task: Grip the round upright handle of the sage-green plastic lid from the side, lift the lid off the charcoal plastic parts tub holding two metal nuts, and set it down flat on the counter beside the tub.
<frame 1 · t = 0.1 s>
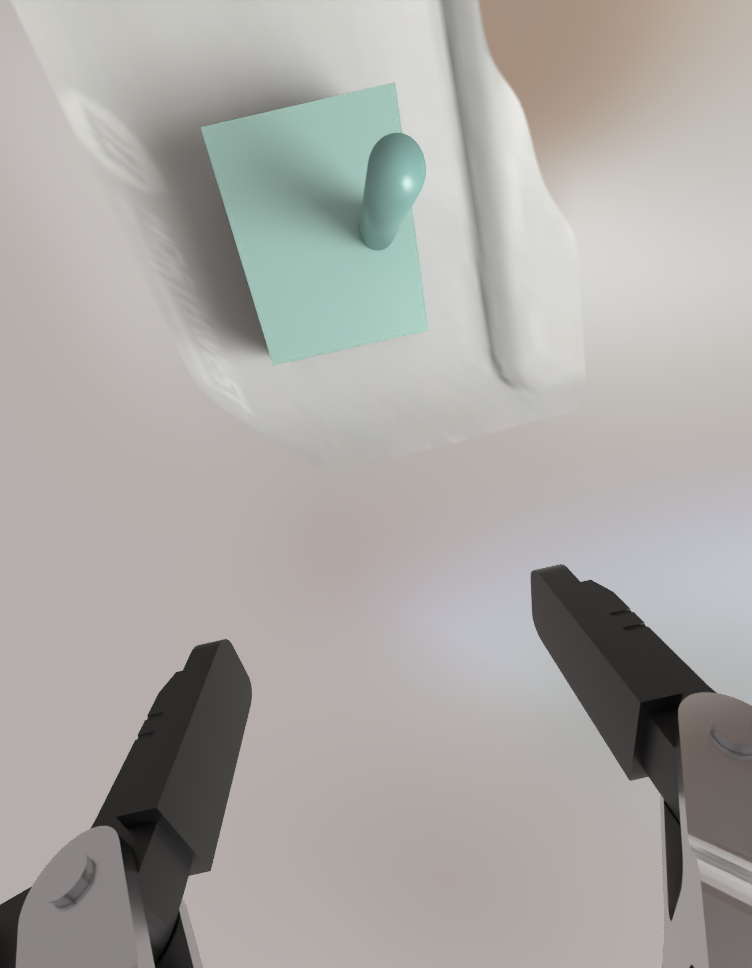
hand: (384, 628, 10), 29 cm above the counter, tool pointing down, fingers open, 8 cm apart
lid: (328, 246, 27), point 5 cm above the counter, touching tub
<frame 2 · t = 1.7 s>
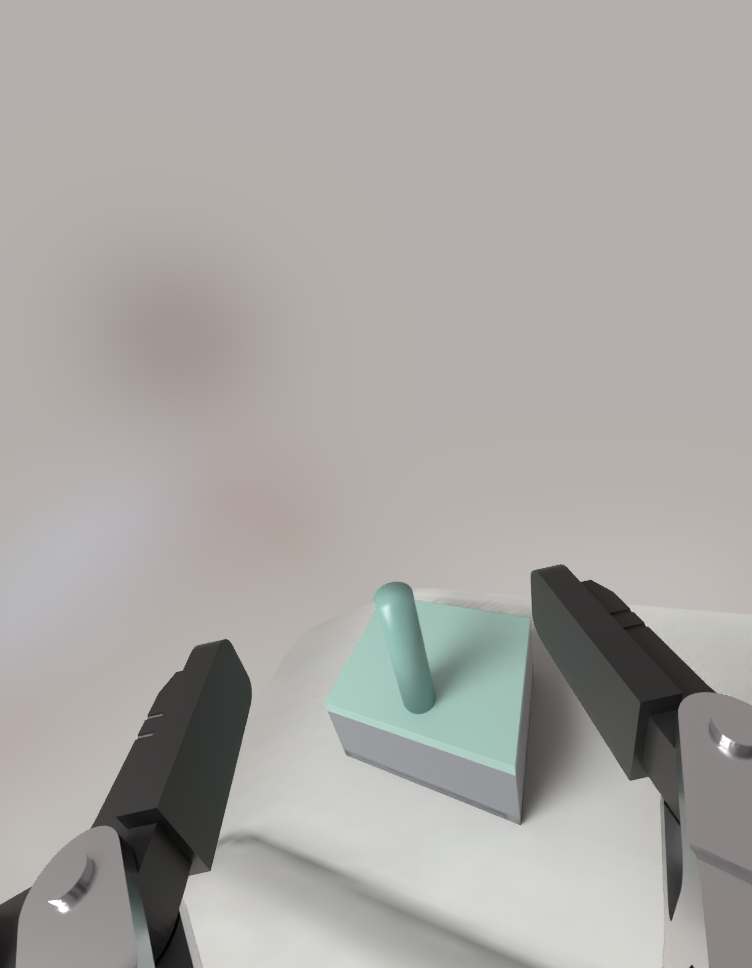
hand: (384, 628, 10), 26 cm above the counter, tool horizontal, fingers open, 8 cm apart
tub: (443, 711, 33), on the counter
lid: (435, 674, 31), point 5 cm above the counter, touching tub
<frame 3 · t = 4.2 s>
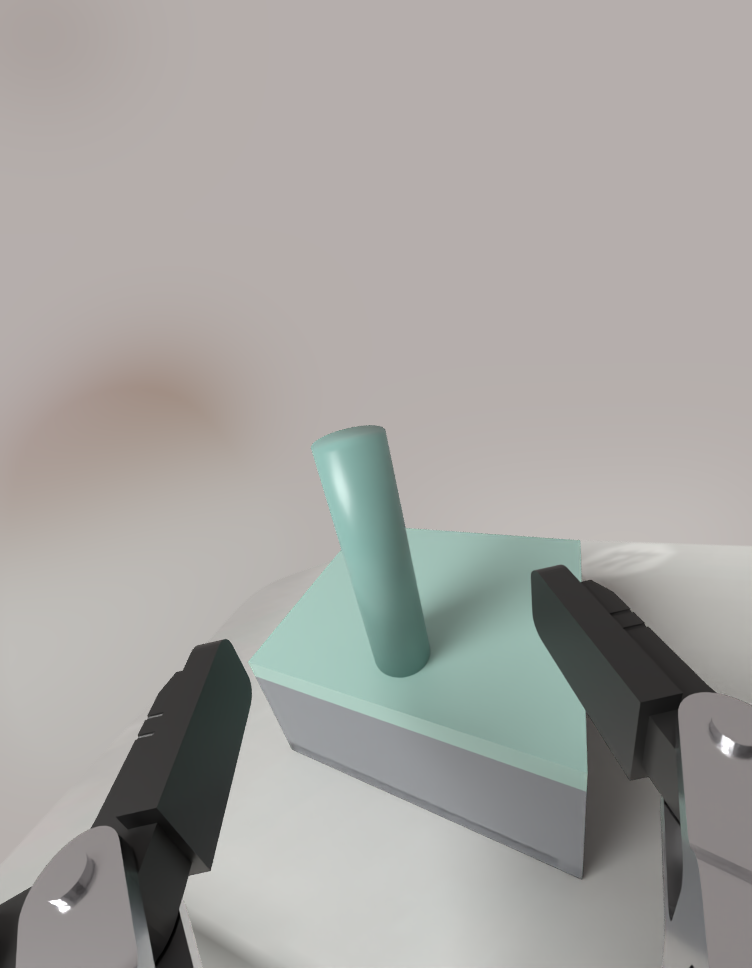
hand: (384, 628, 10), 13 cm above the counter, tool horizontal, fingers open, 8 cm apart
tub: (444, 686, 22), on the counter
lid: (432, 625, 20), point 5 cm above the counter, touching tub
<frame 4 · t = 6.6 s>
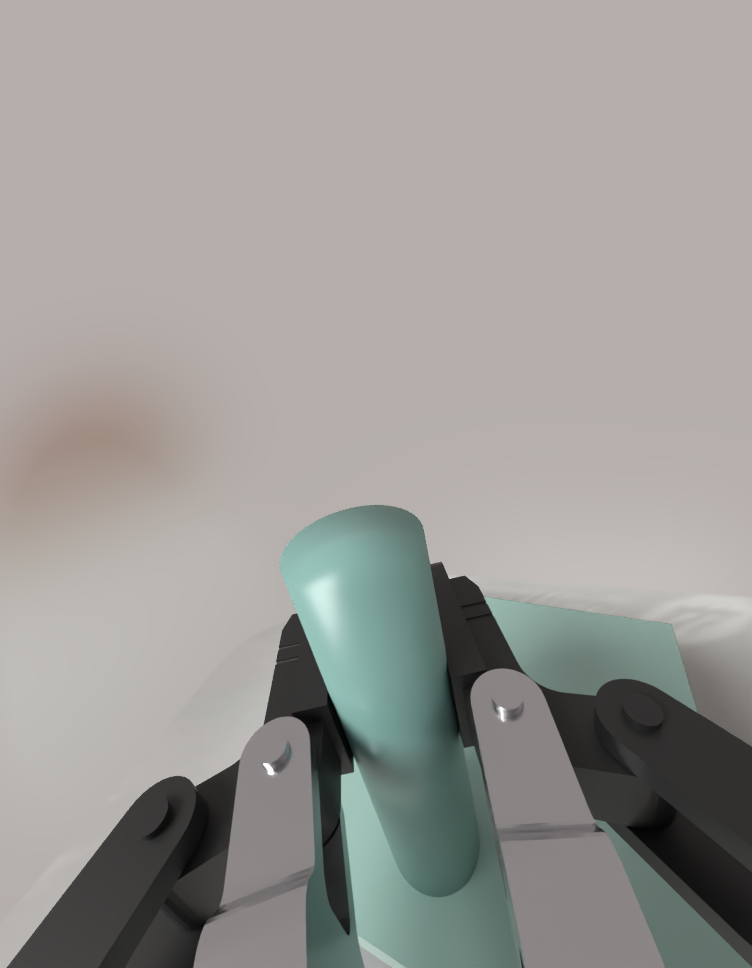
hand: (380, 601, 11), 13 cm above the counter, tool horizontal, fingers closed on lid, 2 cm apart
tub: (480, 816, 16), on the counter
lid: (468, 748, 14), point 5 cm above the counter, touching gripper, tub
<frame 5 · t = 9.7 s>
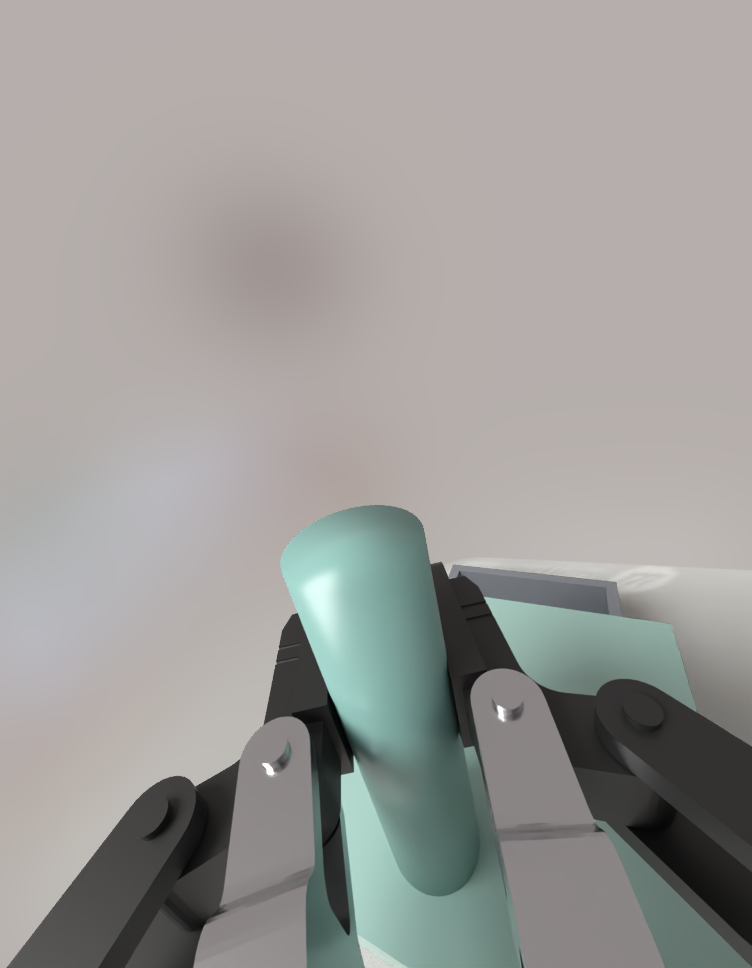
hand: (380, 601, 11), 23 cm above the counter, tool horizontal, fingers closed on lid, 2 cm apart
tub: (523, 671, 32), on the counter
lid: (468, 748, 14), point 15 cm above the counter, touching gripper
when the fingers open (9 cm above the counter, at t = 13.0 s): lid drops 2 cm, on the counter.
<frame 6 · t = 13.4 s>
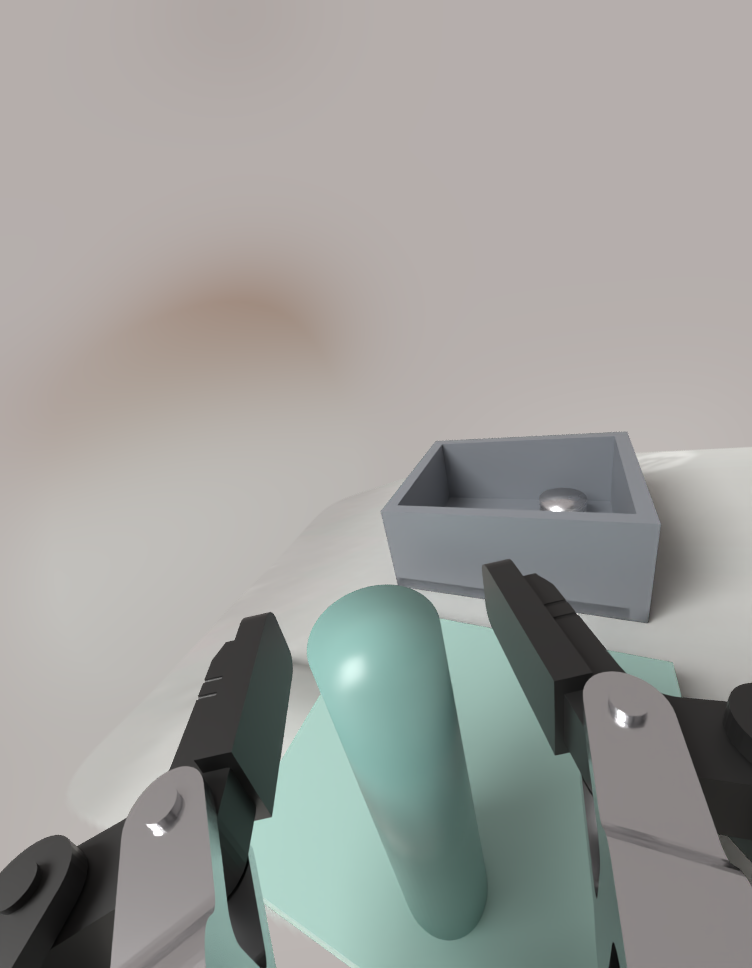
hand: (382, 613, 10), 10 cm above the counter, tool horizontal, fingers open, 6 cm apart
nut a: (562, 521, 27), point 1 cm above the counter, touching tub
tub: (515, 543, 27), on the counter
lid: (474, 782, 14), on the counter
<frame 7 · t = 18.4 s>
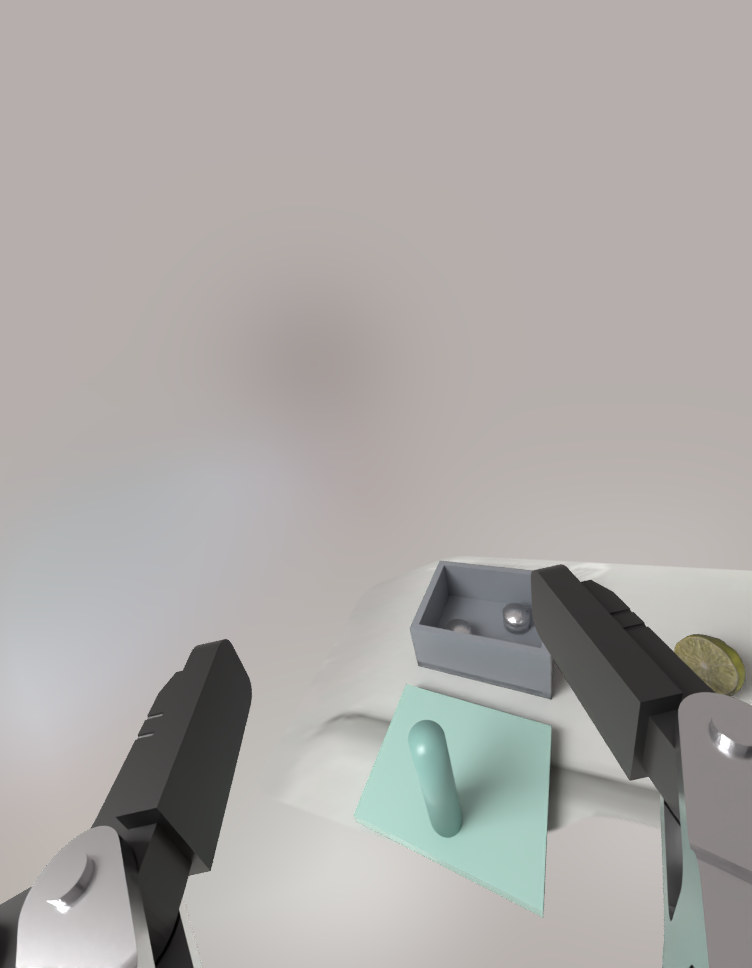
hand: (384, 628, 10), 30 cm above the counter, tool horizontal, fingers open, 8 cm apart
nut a: (516, 624, 44), point 1 cm above the counter, touching tub
tub: (488, 637, 44), on the counter
lid: (459, 781, 32), on the counter
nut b: (459, 640, 44), point 1 cm above the counter, touching tub
lime: (703, 681, 35), on the counter
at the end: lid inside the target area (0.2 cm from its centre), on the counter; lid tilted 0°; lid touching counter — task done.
